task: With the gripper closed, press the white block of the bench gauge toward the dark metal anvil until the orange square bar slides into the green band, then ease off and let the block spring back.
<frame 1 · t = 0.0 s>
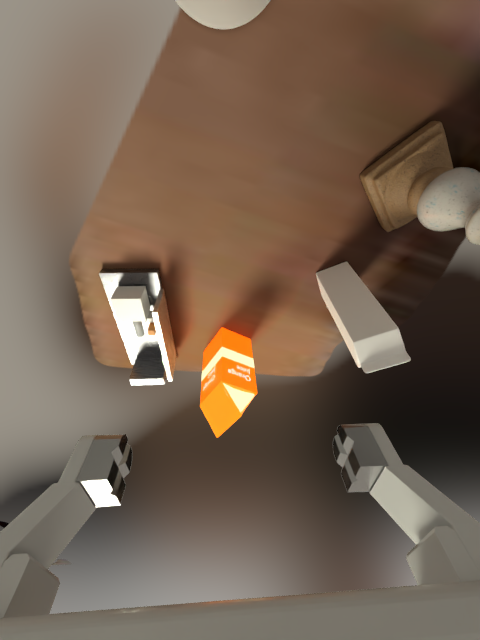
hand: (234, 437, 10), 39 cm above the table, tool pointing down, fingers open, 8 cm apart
candle holder: (404, 180, 41), on the table
orange juice: (226, 344, 62), on the table
white block: (139, 314, 50), point 4 cm above the table, slide at 0.0 cm
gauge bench: (143, 316, 55), on the table
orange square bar: (153, 324, 51), point 4 cm above the table, slide at 0.0 cm
milk: (333, 278, 52), on the table
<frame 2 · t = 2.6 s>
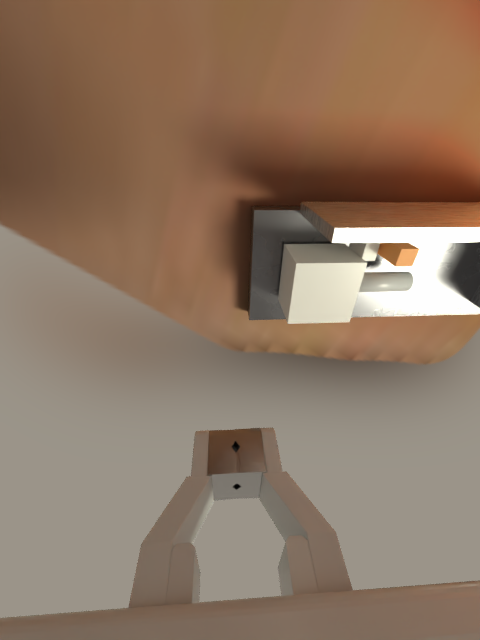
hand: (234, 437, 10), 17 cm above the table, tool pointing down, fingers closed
white block: (349, 273, 21), point 4 cm above the table, slide at 0.0 cm
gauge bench: (367, 263, 25), on the table
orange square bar: (387, 245, 20), point 4 cm above the table, slide at 0.0 cm
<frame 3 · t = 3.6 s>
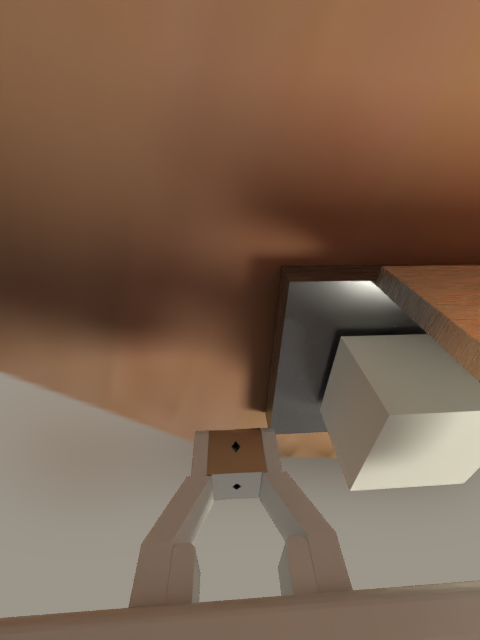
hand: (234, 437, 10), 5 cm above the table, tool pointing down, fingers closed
white block: (465, 394, 11), point 4 cm above the table, slide at 0.0 cm
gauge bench: (466, 348, 15), on the table
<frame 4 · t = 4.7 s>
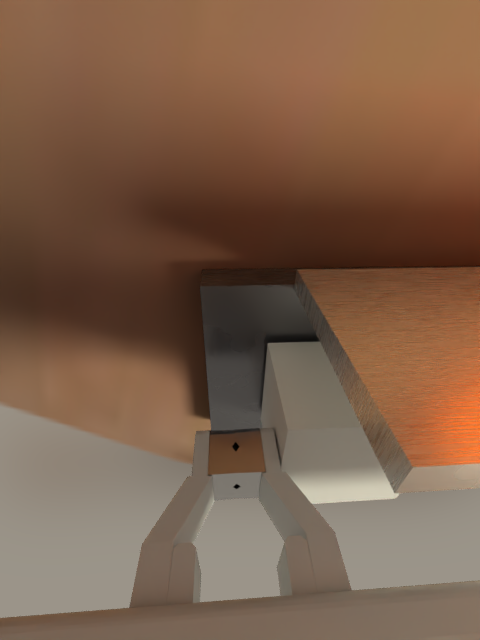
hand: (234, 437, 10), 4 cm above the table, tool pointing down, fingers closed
white block: (396, 404, 11), point 4 cm above the table, slide at 0.1 cm, touching gripper
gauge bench: (414, 353, 14), on the table
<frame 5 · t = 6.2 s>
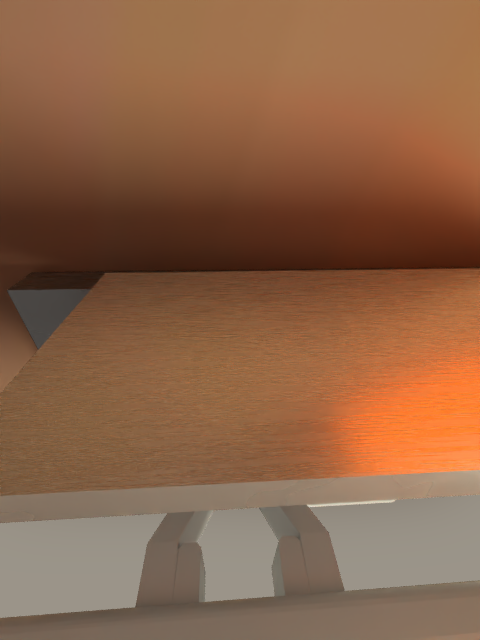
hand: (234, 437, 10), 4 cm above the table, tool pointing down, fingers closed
white block: (394, 407, 11), point 4 cm above the table, slide at 6.6 cm, touching gripper, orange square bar
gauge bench: (292, 359, 14), on the table
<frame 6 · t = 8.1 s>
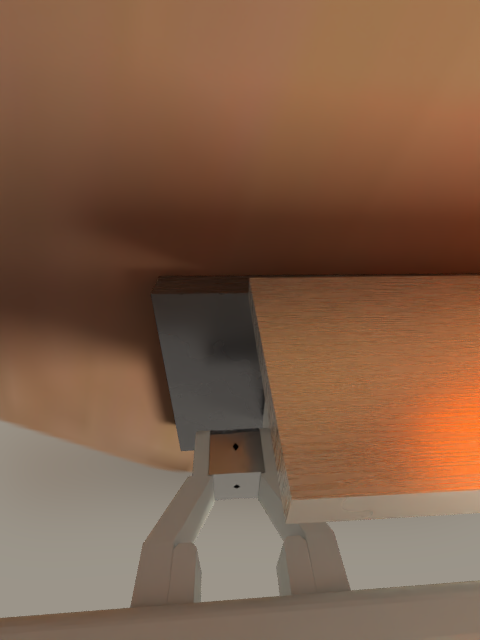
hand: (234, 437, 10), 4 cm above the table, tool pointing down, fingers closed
white block: (400, 414, 10), point 4 cm above the table, slide at 1.9 cm, touching gripper
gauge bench: (384, 361, 14), on the table
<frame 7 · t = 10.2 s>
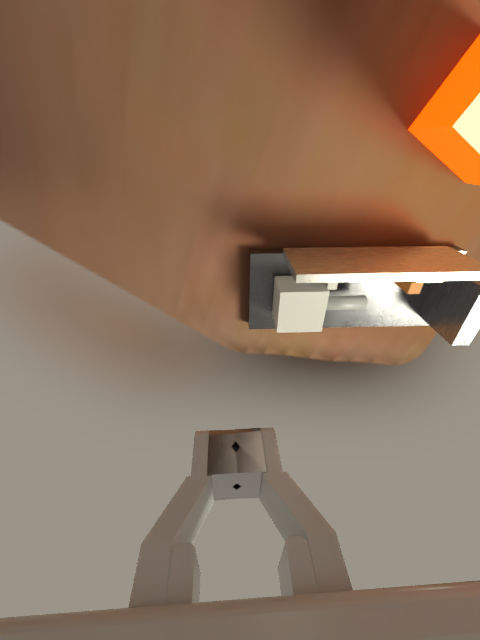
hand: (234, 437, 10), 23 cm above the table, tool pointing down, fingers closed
orange juice: (470, 116, 24), on the table
white block: (321, 296, 30), point 4 cm above the table, slide at 0.3 cm
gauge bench: (337, 287, 33), on the table
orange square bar: (401, 277, 28), point 4 cm above the table, slide at 6.3 cm
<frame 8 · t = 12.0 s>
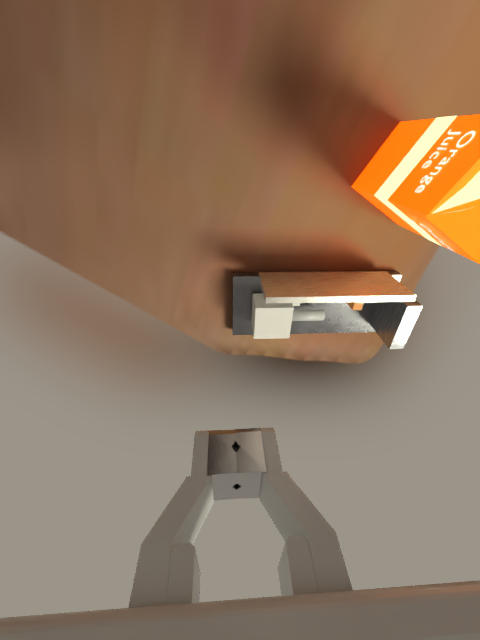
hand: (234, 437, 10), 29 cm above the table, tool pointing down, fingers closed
orange juice: (397, 178, 33), on the table
white block: (289, 310, 38), point 4 cm above the table, slide at 0.3 cm
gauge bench: (303, 301, 41), on the table
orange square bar: (350, 296, 36), point 4 cm above the table, slide at 6.3 cm
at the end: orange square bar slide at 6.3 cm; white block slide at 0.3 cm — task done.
